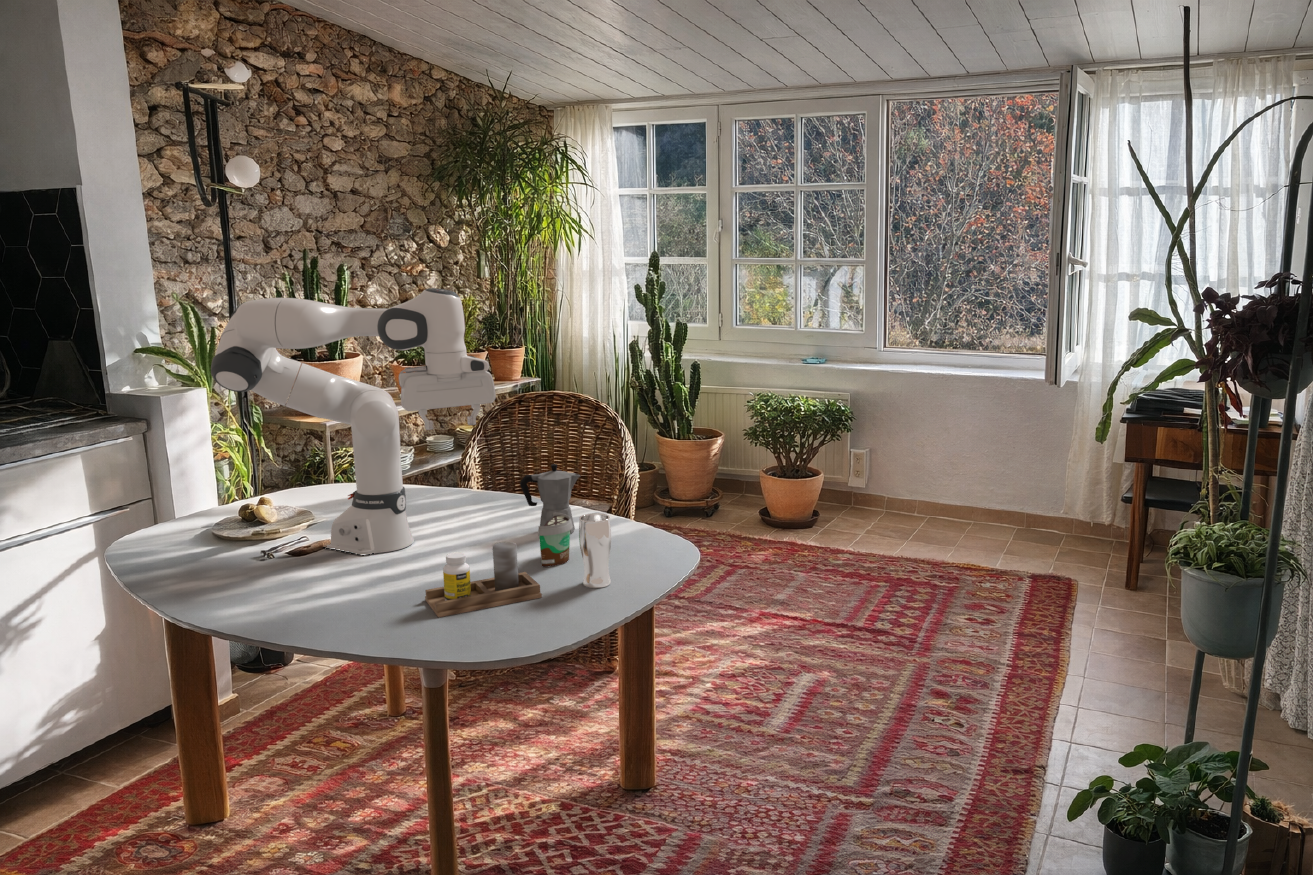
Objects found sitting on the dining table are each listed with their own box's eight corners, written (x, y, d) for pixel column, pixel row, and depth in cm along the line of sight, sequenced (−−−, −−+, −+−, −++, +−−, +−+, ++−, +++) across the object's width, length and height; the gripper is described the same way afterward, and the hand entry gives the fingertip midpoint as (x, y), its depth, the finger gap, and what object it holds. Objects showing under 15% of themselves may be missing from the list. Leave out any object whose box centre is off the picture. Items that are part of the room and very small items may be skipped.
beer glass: (588, 591, 205) (586, 523, 202) (576, 581, 211) (573, 515, 208) (618, 585, 208) (615, 518, 205) (604, 575, 214) (602, 511, 211)
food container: (565, 570, 219) (563, 527, 217) (539, 568, 220) (537, 526, 218) (580, 552, 230) (578, 512, 228) (555, 551, 232) (554, 511, 230)
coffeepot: (579, 524, 253) (577, 458, 250) (585, 534, 244) (582, 466, 241) (521, 529, 250) (517, 462, 246) (524, 540, 241) (520, 470, 237)
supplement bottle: (458, 606, 196) (455, 560, 194) (439, 601, 199) (436, 556, 197) (477, 597, 200) (474, 553, 198) (458, 593, 203) (455, 549, 201)
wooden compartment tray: (438, 617, 192) (434, 566, 190) (425, 599, 202) (421, 551, 200) (541, 597, 202) (539, 548, 200) (524, 581, 212) (522, 534, 210)
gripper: (401, 369, 200) (406, 434, 203) (495, 362, 209) (499, 424, 212) (394, 366, 205) (399, 429, 208) (487, 359, 214) (491, 419, 217)
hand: (450, 427), depth 210 cm, fingers open, 8 cm apart
